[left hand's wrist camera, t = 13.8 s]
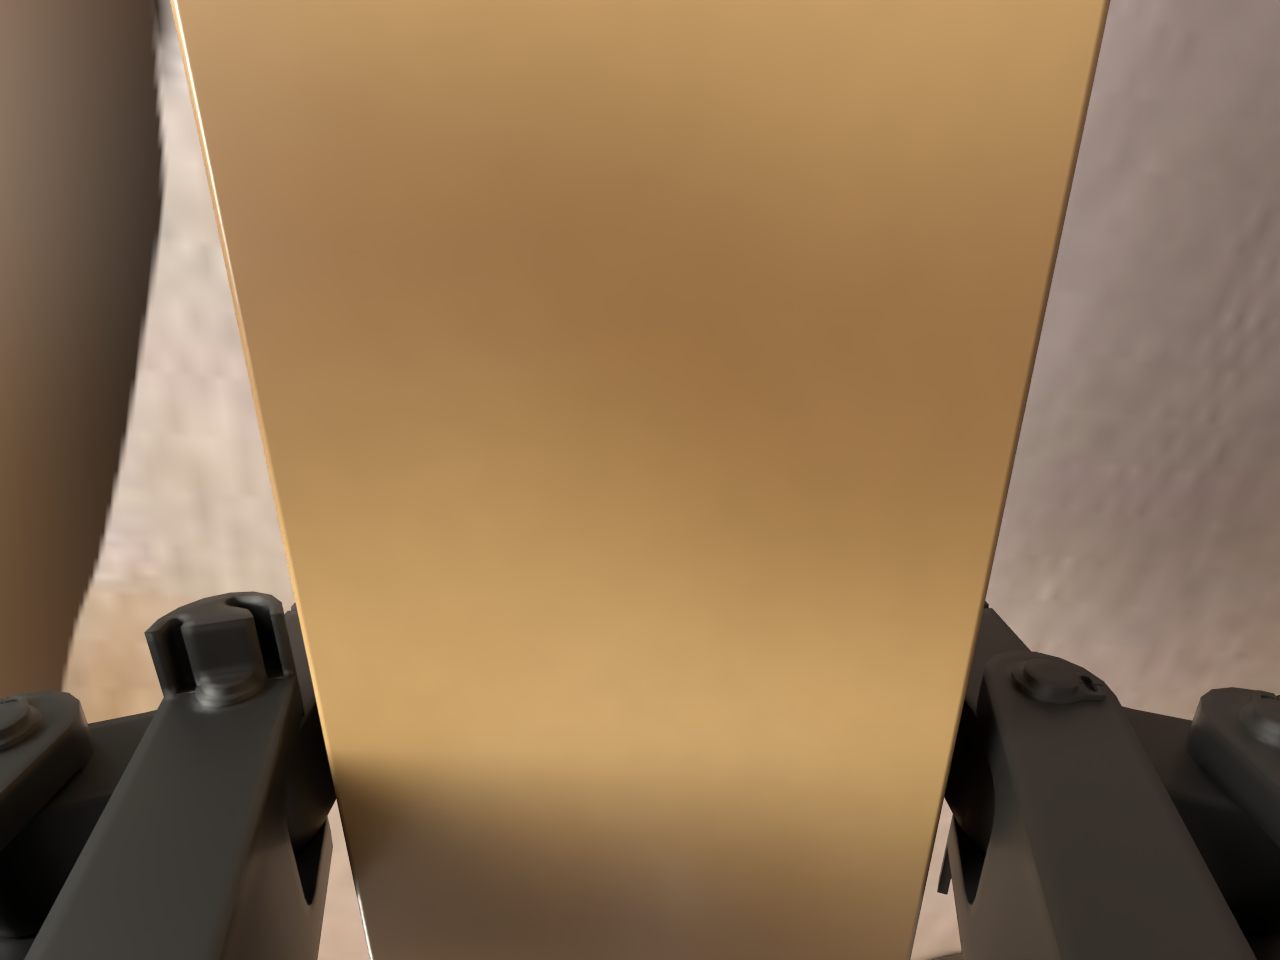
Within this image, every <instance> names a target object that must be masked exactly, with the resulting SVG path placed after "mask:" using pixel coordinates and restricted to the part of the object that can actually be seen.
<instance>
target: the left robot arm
mask: <svg viewBox="0 0 1280 960" xmlns="http://www.w3.org/2000/svg"><path fill="white" fill-rule="evenodd" d="M988 605H989V604H988V603H987V602H986V601H985V603H984V608H983V613H982V618H981V622H980V627H979V632H978V637H977V642H976V646H975V651H974V656H973V661H972V665H971V670H970V675H969V680H968V685H967V689H966V694H965V699H964V704H963V709H962V713H961V718H960V723H959V728H958V733H957V737H956V742H955V747H954V752H953V757H952V761H951V766H950V771H949V776H948V780H947V785H946V790H945V795H944V797H945V799H946V801H947V803H948V805H949V807H950V809H951V811H952V813H953V816H952V821H951V825H950V830H949V835H948V839H947V844H946V849H945V853H944V858H943V863H942V867H941V872H940V876H939V884H938V891H937V892H939V893H943V894H947V893H948V889H949V884H950V880H951V878H952V884H953V891H954V898H955V905H956V913H957V920H958V927H959V934H960V942H961V949H962V953H961V954H955V955H950V956H945V957H941V958H937V959H933V960H1280V695H1278V696H1275V694H1273V693H1269V692H1265V691H1260V690H1249V689H1241V688H1234V687H1230V688H1221V689H1212V690H1210V691H1209V692H1208V693H1206V694H1205V695H1203V696H1202V697H1201V699H1200V702H1199V704H1198V707H1197V710H1196V713H1195V716H1194V718H1193V721H1191V720H1186V719H1181V718H1176V717H1170V716H1165V715H1160V714H1155V713H1150V712H1145V711H1140V710H1135V709H1130V708H1126V707H1122V706H1121V704H1120V702H1119V701H1118V699H1117V697H1116V695H1115V694H1114V693H1113V692H1112V691H1111V690H1110V688H1109V687H1108V686H1107V685H1106V684H1105V682H1104V681H1102V680H1101V679H1099V678H1098V677H1096V676H1095V675H1093V674H1092V673H1090V672H1089V671H1087V670H1086V669H1084V668H1082V667H1080V666H1078V665H1075V664H1073V663H1071V662H1068V661H1066V660H1064V659H1061V658H1058V657H1054V656H1050V655H1046V654H1042V653H1038V652H1031V651H1030V650H1029V649H1028V647H1027V646H1026V645H1025V644H1024V643H1023V642H1022V641H1021V640H1020V639H1019V638H1018V636H1017V635H1016V634H1015V633H1014V632H1013V631H1012V630H1011V629H1010V628H1009V626H1008V625H1007V624H1006V623H1005V622H1004V621H1003V620H1002V619H1001V618H1000V616H999V615H998V614H997V613H996V612H995V611H994V610H993V609H992V608H989V606H988ZM145 636H146V639H147V643H148V646H149V649H150V653H151V656H152V659H153V662H154V666H155V669H156V672H157V676H158V679H159V682H160V686H161V689H162V692H163V696H164V698H163V700H162V702H161V704H160V706H159V707H158V709H157V710H154V711H150V712H146V713H141V714H136V715H131V716H126V717H121V718H116V719H111V720H106V721H101V722H95V723H90V724H88V723H87V721H86V718H85V715H84V712H83V709H82V707H81V704H80V701H79V700H78V699H76V698H75V697H74V696H72V695H71V694H69V693H66V692H56V691H42V692H35V693H27V694H18V695H14V696H9V697H6V699H4V700H3V699H0V960H317V958H318V951H319V944H320V936H321V929H322V922H323V914H324V907H325V900H326V893H327V885H328V878H329V871H330V863H331V856H332V849H333V844H332V836H331V830H330V825H329V821H328V816H327V815H328V813H329V811H330V810H331V808H332V806H333V804H334V802H335V800H336V794H335V789H334V784H333V779H332V774H331V770H330V765H329V760H328V755H327V750H326V746H325V741H324V736H323V731H322V726H321V722H320V717H319V712H318V707H317V702H316V698H315V693H314V688H313V683H312V678H311V674H310V669H309V664H308V659H307V654H306V650H305V645H304V640H303V635H302V630H301V626H300V621H299V616H298V611H297V606H296V602H295V603H294V605H293V606H292V607H291V611H287V612H286V613H285V615H284V611H283V607H282V602H280V601H279V600H278V599H276V598H275V597H273V596H272V595H269V594H263V593H258V592H235V593H227V594H222V595H217V596H212V597H208V598H204V599H201V600H198V601H195V602H193V603H190V604H187V605H184V606H182V607H179V608H177V609H176V610H174V611H172V612H170V613H169V614H167V615H165V616H163V617H161V618H160V619H158V620H157V621H156V622H155V623H154V624H153V625H152V626H151V627H150V628H149V629H148V630H147V631H146V632H145Z"/></svg>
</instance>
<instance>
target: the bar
mask: <svg viewBox="0 0 1280 960" xmlns="http://www.w3.org/2000/svg"><path fill="white" fill-rule="evenodd" d="M170 2H171V6H172V11H173V16H174V21H175V26H176V30H177V35H178V40H179V45H180V50H181V54H182V59H183V64H184V69H185V74H186V78H187V83H188V88H189V93H190V98H191V102H192V107H193V112H194V117H195V122H196V126H197V131H198V136H199V141H200V146H201V150H202V155H203V160H204V165H205V170H206V174H207V179H208V184H209V189H210V194H211V198H212V203H213V208H214V213H215V218H216V222H217V227H218V232H219V237H220V242H221V246H222V251H223V256H224V261H225V266H226V270H227V275H228V280H229V285H230V290H231V294H232V299H233V304H234V309H235V314H236V318H237V323H238V328H239V333H240V338H241V342H242V347H243V352H244V357H245V362H246V366H247V371H248V376H249V381H250V386H251V390H252V395H253V400H254V405H255V410H256V414H257V419H258V424H259V429H260V434H261V438H262V443H263V448H264V453H265V458H266V462H267V467H268V472H269V477H270V482H271V486H272V491H273V496H274V501H275V506H276V510H277V515H278V520H279V525H280V530H281V534H282V539H283V544H284V549H285V554H286V558H287V563H288V568H289V573H290V578H291V582H292V587H293V592H294V597H295V602H296V606H297V611H298V616H299V621H300V626H301V630H302V635H303V640H304V645H305V650H306V654H307V659H308V664H309V669H310V674H311V678H312V683H313V688H314V693H315V698H316V702H317V707H318V712H319V717H320V722H321V726H322V731H323V736H324V741H325V746H326V750H327V755H328V760H329V765H330V770H331V774H332V779H333V784H334V789H335V794H336V798H337V803H338V808H339V813H340V818H341V822H342V827H343V832H344V837H345V842H346V846H347V851H348V856H349V861H350V866H351V870H352V875H353V880H354V885H355V890H356V894H357V899H358V904H359V909H360V914H361V918H362V923H363V928H364V933H365V938H366V942H367V947H368V952H369V957H370V960H910V958H911V953H912V948H913V943H914V939H915V934H916V929H917V924H918V919H919V915H920V910H921V905H922V900H923V895H924V891H925V886H926V881H927V876H928V871H929V867H930V862H931V857H932V852H933V848H934V843H935V838H936V833H937V828H938V824H939V819H940V814H941V809H942V804H943V800H944V795H945V790H946V785H947V780H948V776H949V771H950V766H951V761H952V757H953V752H954V747H955V742H956V737H957V733H958V728H959V723H960V718H961V713H962V709H963V704H964V699H965V694H966V689H967V685H968V680H969V675H970V670H971V665H972V661H973V656H974V651H975V646H976V642H977V637H978V632H979V627H980V622H981V618H982V613H983V608H984V603H985V598H986V594H987V589H988V584H989V579H990V574H991V570H992V565H993V560H994V555H995V551H996V546H997V541H998V536H999V531H1000V527H1001V522H1002V517H1003V512H1004V507H1005V503H1006V498H1007V493H1008V488H1009V483H1010V479H1011V474H1012V469H1013V464H1014V460H1015V455H1016V450H1017V445H1018V440H1019V436H1020V431H1021V426H1022V421H1023V416H1024V412H1025V407H1026V402H1027V397H1028V392H1029V388H1030V383H1031V378H1032V373H1033V368H1034V364H1035V359H1036V354H1037V349H1038V345H1039V340H1040V335H1041V330H1042V325H1043V321H1044V316H1045V311H1046V306H1047V301H1048V297H1049V292H1050V287H1051V282H1052V277H1053V273H1054V268H1055V263H1056V258H1057V254H1058V249H1059V244H1060V239H1061V234H1062V230H1063V225H1064V220H1065V215H1066V210H1067V206H1068V201H1069V196H1070V191H1071V186H1072V182H1073V177H1074V172H1075V167H1076V162H1077V158H1078V153H1079V148H1080V143H1081V139H1082V134H1083V129H1084V124H1085V119H1086V115H1087V110H1088V105H1089V100H1090V95H1091V91H1092V86H1093V81H1094V76H1095V71H1096V67H1097V62H1098V57H1099V52H1100V48H1101V43H1102V38H1103V33H1104V28H1105V24H1106V19H1107V14H1108V9H1109V4H1110V0H170Z"/></svg>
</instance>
